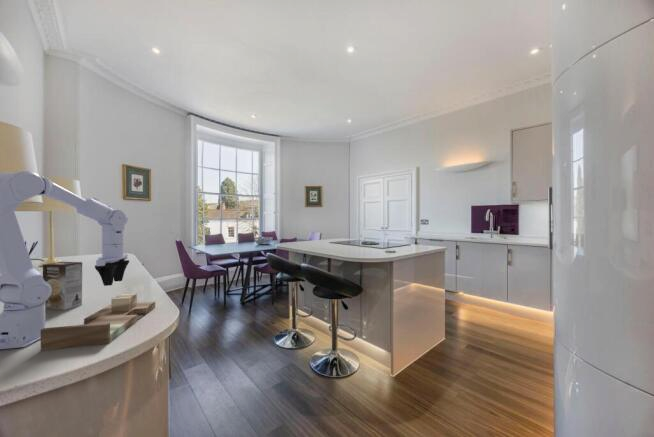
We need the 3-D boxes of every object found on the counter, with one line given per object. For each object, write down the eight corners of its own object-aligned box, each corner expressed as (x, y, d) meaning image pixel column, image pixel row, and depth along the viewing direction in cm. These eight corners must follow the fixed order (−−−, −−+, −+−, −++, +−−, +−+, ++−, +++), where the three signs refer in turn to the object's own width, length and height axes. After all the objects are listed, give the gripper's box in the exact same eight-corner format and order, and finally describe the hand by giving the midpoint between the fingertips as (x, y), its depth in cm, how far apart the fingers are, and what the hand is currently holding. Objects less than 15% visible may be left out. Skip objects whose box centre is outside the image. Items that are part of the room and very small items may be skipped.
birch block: (129, 310, 84) (129, 297, 84) (111, 311, 83) (111, 299, 83) (136, 305, 89) (136, 293, 89) (120, 306, 88) (120, 294, 88)
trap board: (107, 343, 66) (107, 324, 66) (40, 350, 62) (40, 329, 62) (155, 306, 93) (155, 293, 93) (110, 310, 90) (110, 295, 90)
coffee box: (41, 310, 91) (40, 264, 91) (61, 304, 97) (61, 261, 97) (64, 310, 90) (64, 264, 90) (83, 304, 96) (83, 261, 96)
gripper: (112, 242, 96) (112, 279, 96) (84, 246, 82) (85, 289, 82) (133, 242, 98) (133, 277, 98) (110, 246, 84) (111, 288, 84)
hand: (113, 283), depth 90 cm, fingers open, 5 cm apart
